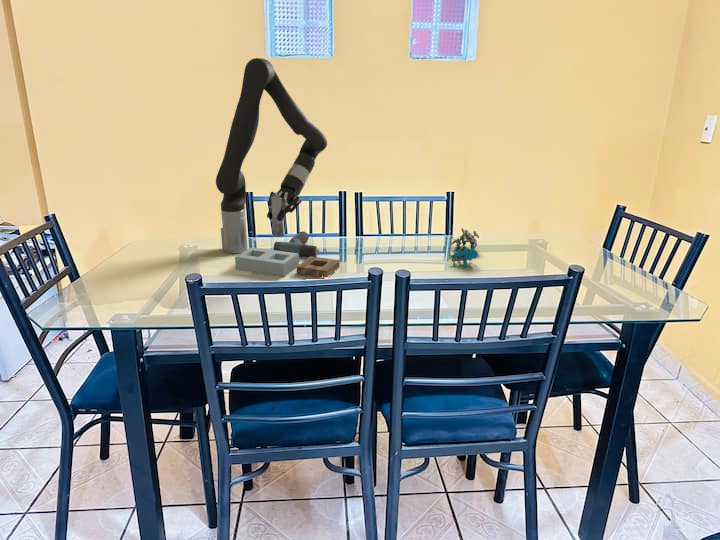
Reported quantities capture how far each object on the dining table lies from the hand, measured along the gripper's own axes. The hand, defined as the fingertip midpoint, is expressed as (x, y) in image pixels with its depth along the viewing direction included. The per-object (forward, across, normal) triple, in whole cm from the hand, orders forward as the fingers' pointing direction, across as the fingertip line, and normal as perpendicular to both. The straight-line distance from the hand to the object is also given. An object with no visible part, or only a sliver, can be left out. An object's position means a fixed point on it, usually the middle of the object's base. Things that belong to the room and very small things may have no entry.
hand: (273, 218), depth 174 cm
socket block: (+7, +12, +21) cm, 25 cm away
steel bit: (+3, 0, +6) cm, 7 cm away
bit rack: (+14, -5, +14) cm, 20 cm away
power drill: (-3, -8, +32) cm, 33 cm away
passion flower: (-32, +46, +60) cm, 82 cm away
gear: (-20, +53, +48) cm, 74 cm away
